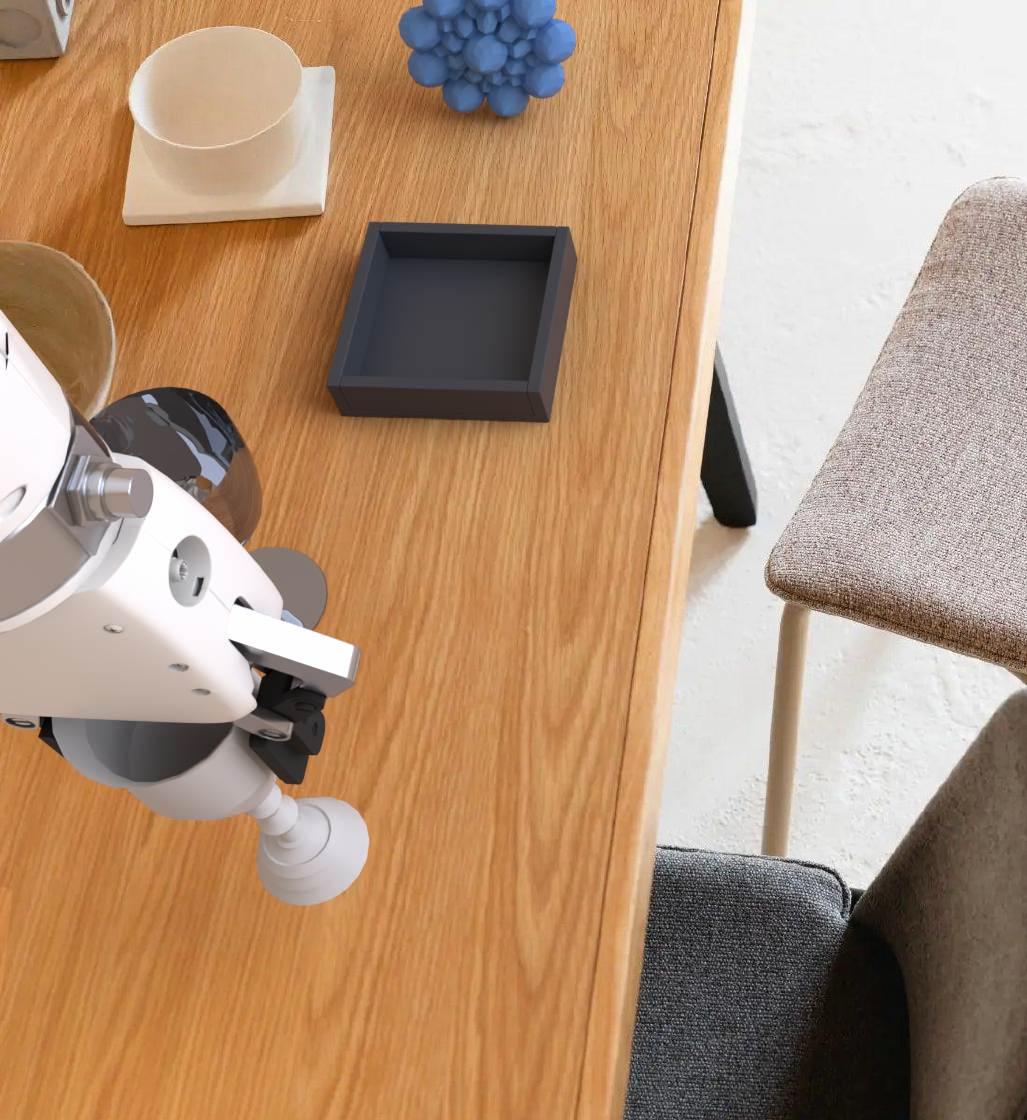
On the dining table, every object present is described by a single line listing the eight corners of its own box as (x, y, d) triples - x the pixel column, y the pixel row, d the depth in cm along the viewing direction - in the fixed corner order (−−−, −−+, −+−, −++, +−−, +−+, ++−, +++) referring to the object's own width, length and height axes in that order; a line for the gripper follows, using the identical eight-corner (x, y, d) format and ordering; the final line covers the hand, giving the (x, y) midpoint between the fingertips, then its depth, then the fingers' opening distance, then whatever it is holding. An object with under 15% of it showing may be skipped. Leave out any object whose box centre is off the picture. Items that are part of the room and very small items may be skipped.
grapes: (601, 70, 104) (571, -79, 93) (587, 142, 100) (555, -5, 90) (434, 66, 104) (386, -83, 94) (416, 137, 101) (364, -9, 90)
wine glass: (267, 692, 81) (151, 556, 68) (160, 624, 83) (27, 479, 70) (364, 581, 84) (271, 431, 71) (258, 518, 86) (149, 361, 73)
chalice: (390, 917, 66) (249, 772, 50) (234, 942, 66) (41, 804, 50) (387, 763, 70) (254, 582, 54) (238, 786, 69) (59, 610, 53)
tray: (341, 416, 90) (324, 385, 87) (382, 254, 96) (368, 220, 93) (549, 422, 89) (539, 392, 86) (578, 259, 95) (569, 225, 93)
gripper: (308, 394, 42) (452, 661, 58) (-296, 369, 43) (9, 642, 58) (244, 633, 39) (416, 850, 54) (-416, 604, 39) (-56, 827, 55)
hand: (204, 740), depth 56 cm, fingers closed on chalice, 6 cm apart
